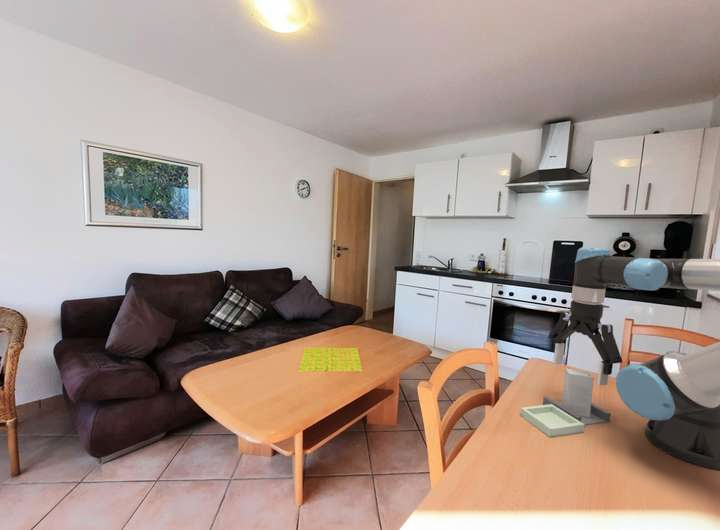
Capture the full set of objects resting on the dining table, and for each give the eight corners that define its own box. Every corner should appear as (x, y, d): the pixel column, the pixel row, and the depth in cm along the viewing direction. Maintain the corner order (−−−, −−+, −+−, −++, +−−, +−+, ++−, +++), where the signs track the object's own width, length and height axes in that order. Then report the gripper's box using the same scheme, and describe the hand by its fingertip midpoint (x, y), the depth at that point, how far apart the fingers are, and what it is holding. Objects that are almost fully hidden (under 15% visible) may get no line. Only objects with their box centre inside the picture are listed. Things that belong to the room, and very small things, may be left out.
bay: (609, 421, 86) (610, 413, 86) (576, 426, 83) (577, 417, 83) (573, 401, 97) (574, 393, 97) (542, 404, 94) (543, 396, 94)
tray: (583, 432, 81) (584, 424, 81) (549, 437, 78) (550, 429, 78) (551, 411, 90) (551, 404, 90) (520, 415, 88) (520, 407, 87)
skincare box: (584, 410, 91) (589, 371, 90) (589, 418, 87) (594, 377, 86) (560, 405, 93) (565, 367, 92) (565, 413, 89) (569, 373, 88)
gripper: (647, 312, 76) (635, 394, 78) (559, 293, 100) (552, 356, 102) (624, 313, 74) (613, 396, 76) (540, 293, 98) (533, 357, 100)
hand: (578, 373), depth 89 cm, fingers open, 13 cm apart
